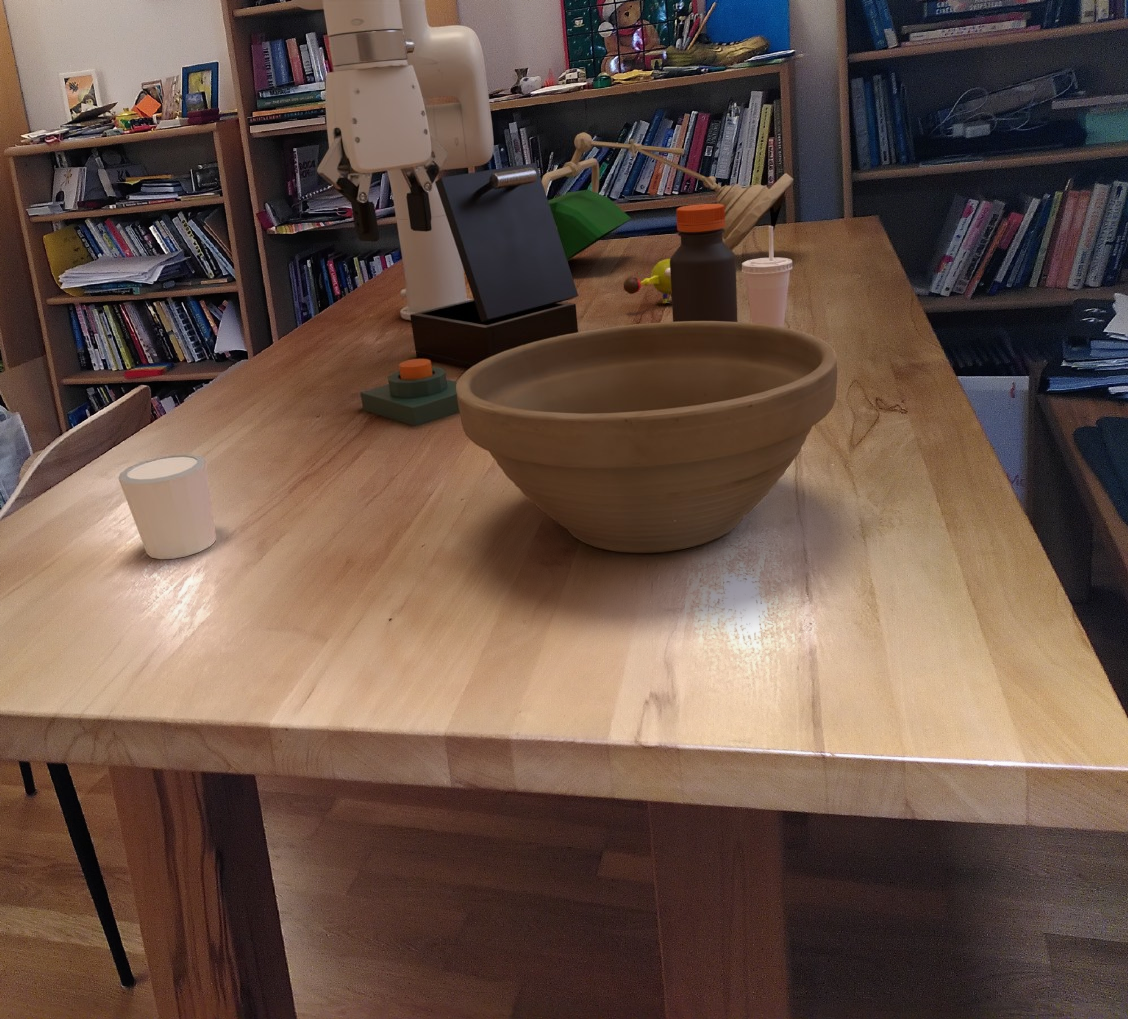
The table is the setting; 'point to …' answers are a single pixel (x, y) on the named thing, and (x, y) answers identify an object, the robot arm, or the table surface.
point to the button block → (413, 398)
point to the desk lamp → (597, 216)
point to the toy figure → (653, 280)
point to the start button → (415, 369)
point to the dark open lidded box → (485, 331)
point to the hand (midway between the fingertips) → (395, 233)
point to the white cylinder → (170, 505)
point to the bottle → (703, 267)
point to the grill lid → (506, 240)
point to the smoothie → (767, 287)
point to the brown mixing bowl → (650, 425)
